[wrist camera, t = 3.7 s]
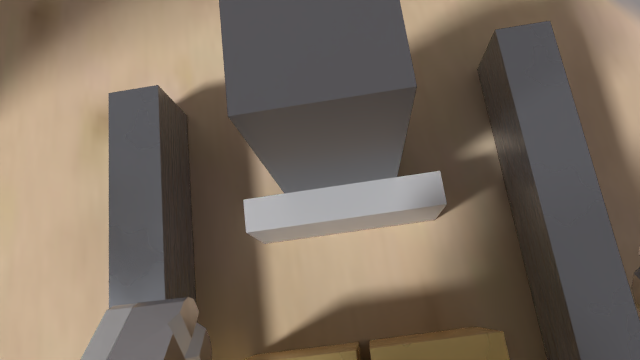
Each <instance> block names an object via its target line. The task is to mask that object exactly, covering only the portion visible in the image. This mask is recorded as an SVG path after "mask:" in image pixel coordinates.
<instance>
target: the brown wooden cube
mask: <svg viewBox="0 0 640 360" xmlns="http://www.w3.org/2000/svg"><path fill="white" fill-rule="evenodd" d="M243 360H361V356H360V348H359V342H353V343H345V344H337V345H329V346H321V347H312V348H304V349H296V350H288V351H279V352H271V353H263V354H256V355H253V356H251V357H248V358H246V359H243Z"/></svg>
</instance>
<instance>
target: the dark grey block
mask: <svg viewBox="0 0 640 360" xmlns="http://www.w3.org/2000/svg"><path fill="white" fill-rule="evenodd" d="M219 7H220V20H221V33H222V46H223V59H224V72H225V85H226V98H227V111H228V117H229V118H230V120H231V121H232V123H233V124H234V125H235V127H236V128H237V129H238V131H239V132H240V133H241V135H242V136H243V138H244V139H245V140H246V142H247V143H248V144H249V146H250V147H251V148H252V150H253V151H254V152H255V154H256V155H257V157H258V158H259V159H260V161H261V162H262V163H263V165H264V166H265V167H266V169H267V170H268V172H269V173H270V174H271V176H272V177H273V178H274V180H275V181H276V182H277V184H278V185H279V187H280V188H281V189H282V191H283V192H284V193H285V194H278V195H271V196H264V197H258V198H251V199H244V200H243V201H244V214H245V226H246V233H247V234H249V235H251V236H252V237H254V238H256V239H257V240H259V241H260V242H262V243H264V244H267V243H274V242H281V241H289V240H296V239H303V238H310V237H317V236H324V235H331V234H338V233H346V232H353V231H360V230H367V229H374V228H381V227H388V226H395V225H403V224H410V223H417V222H424V221H431V220H435V219H436V218H437V217H438V215H439V214H440V213H441V211H442V210H443V209H444V207H445V206H446V205H447V202H446V197H445V192H444V187H443V182H442V177H441V172H440V171H435V172H428V173H421V174H414V175H407V176H401V177H397V175H398V171H399V166H400V161H401V157H402V152H403V148H404V143H405V138H406V134H407V129H408V125H409V120H410V115H411V111H412V106H413V102H414V97H415V93H416V88H417V85H416V80H415V75H414V70H413V65H412V60H411V55H410V50H409V45H408V40H407V35H406V30H405V25H404V20H403V15H402V10H401V5H400V0H219Z"/></svg>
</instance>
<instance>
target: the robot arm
mask: <svg viewBox="0 0 640 360" xmlns="http://www.w3.org/2000/svg"><path fill="white" fill-rule="evenodd" d="M638 254H639V255H640V247H639V251H638ZM632 292H633V297H634V301H635V304H636V306H637V308H638V310H639V312H640V267H639V268H638V269H637V270H636V271H635V272H634V275H633V282H632ZM198 315H199V310H198V308H197V306H196V303H195V301H194V299H192V298H189V297H184V298H175V299H166V300H157V301H148V302H139V303H135V304H125V305H116V306H112V307H111V308H110V309H108V310H107V311H106V312H105V314H104V316H103V318H102V320H101V322H100V323H99V325H98V327H97V329H96V331H95V333H94V335H93V337H92V338H91V340H90V342H89V344H88V346H87V348H86V350H85V352H84V354H83V355H82V357H81V359H80V360H212V347H211V341H210V337H209V334H208V332H207V329H206V328H205V327H203V326H202V325H200V324H199V323H197V318H198Z"/></svg>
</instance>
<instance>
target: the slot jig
mask: <svg viewBox="0 0 640 360" xmlns="http://www.w3.org/2000/svg"><path fill="white" fill-rule="evenodd" d="M477 70H478V74H479V78H480V82H481V86H482V90H483V94H484V99H485V103H486V107H487V111H488V115H489V119H490V123H491V128H492V132H493V136H494V140H495V144H496V148H497V152H498V157H499V161H500V165H501V169H502V173H503V177H504V181H505V186H506V190H507V194H508V198H509V202H510V206H511V210H512V214H513V219H514V223H515V227H516V231H517V235H518V239H519V243H520V248H521V252H522V256H523V260H524V264H525V268H526V272H527V277H528V281H529V285H530V289H531V293H532V297H533V301H534V306H535V310H536V314H537V318H538V322H539V326H540V330H541V334H542V339H543V343H544V347H545V351H546V355H547V359H548V360H640V321H639V317H638V314H637V311H636V307H635V304H634V301H633V297H632V294H631V291H630V287H629V284H628V281H627V277H626V274H625V271H624V267H623V264H622V260H621V257H620V254H619V250H618V247H617V244H616V240H615V237H614V234H613V230H612V227H611V224H610V220H609V217H608V214H607V210H606V207H605V203H604V200H603V197H602V193H601V190H600V187H599V183H598V180H597V177H596V173H595V170H594V167H593V163H592V160H591V157H590V153H589V150H588V147H587V143H586V140H585V136H584V133H583V130H582V126H581V123H580V120H579V116H578V113H577V110H576V106H575V103H574V100H573V96H572V93H571V90H570V86H569V83H568V80H567V76H566V73H565V69H564V66H563V63H562V59H561V56H560V53H559V49H558V46H557V43H556V39H555V36H554V33H553V29H552V26H551V23H550V21H546V22H540V23H534V24H527V25H521V26H515V27H509V28H503V29H497V30H495V32H494V34H493V36H492V38H491V40H490V42H489V45H488V47H487V49H486V51H485V53H484V56H483V58H482V60H481V62H480V64H479V67H478V69H477ZM184 297H189V298H192V299H194V301H195V303H196V290H195V270H194V251H193V231H192V211H191V191H190V172H189V152H188V132H187V115H186V114H185V113H184V112H183V111H182V110H181V109H180V108H179V107H178V106H177V105H176V104H175V103H174V102H173V100H172V99H171V98H170V97H169V96H168V95H167V94H166V93H165V92H164V91H163V90H162V89H161V88H160V87H159V86H158V85H156V86H150V87H144V88H137V89H131V90H125V91H119V92H113V93H109V309H110V308H111V307H112V306H116V305H125V304H135V303H139V302H148V301H157V300H166V299H175V298H184Z"/></svg>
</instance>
